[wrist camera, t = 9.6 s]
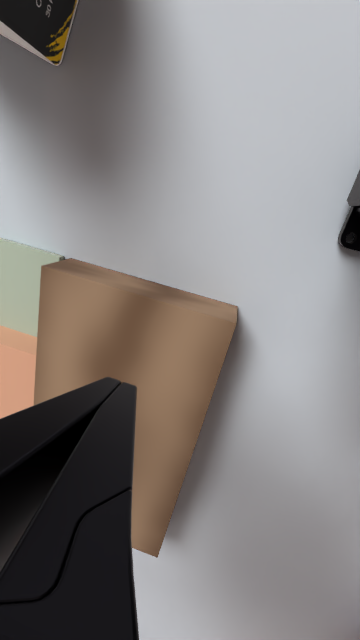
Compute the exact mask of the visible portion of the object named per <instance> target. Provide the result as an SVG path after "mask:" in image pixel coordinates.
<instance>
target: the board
mask: <svg viewBox="0 0 360 640" xmlns="http://www.w3.org/2000/svg"><path fill="white" fill-rule="evenodd" d="M236 324H237V306H234V305H231V304H227V303H224V302H220V301H217V300H213V299H210V298H206V297H203V296H200V295H196V294H193V293H189V292H186V291H182V290H179V289H175V288H172V287H168V286H165V285H162V284H158V283H155V282H151V281H148V280H144V279H141V278H137V277H134V276H130V275H127V274H124V273H120V272H117V271H113V270H110V269H106V268H103V267H99V266H96V265H93V264H89V263H86V262H82V261H79V260H75V259H72V258H70V259H66V260H62V261H58V262H54V263H50V264H46V265H42V266H41V278H40V296H39V314H38V332H37V351H36V369H35V387H34V405H36V404H39V403H41V402H44V401H46V400H49V399H51V398H54V397H57V396H59V395H62V394H64V393H67V392H69V391H72V390H74V389H77V388H80V387H82V386H85V385H87V384H90V383H92V382H95V381H97V380H100V379H102V378H105V377H111V378H114V379H117V380H120V381H121V382H126V383H129V384H132V385H135V386H136V387H137V401H136V423H135V445H134V466H133V488H132V522H131V541H132V548H134V549H137V550H139V551H142V552H144V553H147V554H150V555H152V556H155V557H158V554H159V551H160V548H161V545H162V542H163V539H164V536H165V534H166V531H167V528H168V525H169V522H170V519H171V516H172V513H173V510H174V507H175V504H176V501H177V498H178V495H179V492H180V489H181V486H182V483H183V480H184V477H185V474H186V471H187V469H188V466H189V463H190V460H191V457H192V454H193V451H194V448H195V445H196V442H197V439H198V436H199V433H200V430H201V427H202V424H203V421H204V418H205V415H206V412H207V409H208V407H209V404H210V401H211V398H212V395H213V392H214V389H215V386H216V383H217V380H218V377H219V374H220V371H221V368H222V365H223V362H224V359H225V356H226V353H227V350H228V347H229V344H230V342H231V339H232V336H233V333H234V330H235V327H236ZM34 405H33V406H34Z"/></svg>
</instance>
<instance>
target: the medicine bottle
mask: <svg viewBox="0 0 360 640" xmlns="http://www.w3.org/2000/svg"><path fill="white" fill-rule="evenodd" d="M78 1H79V0H0V34H1V35H3V36H4V37H6V38H8V39H10V40H11V41H13V42H15V43H16V44H18V45H20V46H22V47H23V48H25V49H27V50H28V51H30V52H32V53H33V54H35V55H37V56H39V57H40V58H42V59H44V60H45V61H47V62H49V63H51V64H52V65H56V66H58V65H60V64H61V62H62V59H63V56H64V52H65V48H66V45H67V41H68V37H69V34H70V30H71V26H72V23H73V19H74V15H75V12H76V8H77V4H78Z"/></svg>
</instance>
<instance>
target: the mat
mask: <svg viewBox="0 0 360 640" xmlns="http://www.w3.org/2000/svg"><path fill="white" fill-rule="evenodd" d="M62 260H64V256H61V255H58V254H55V253H51V252H48V251H44V250H41V249H37V248H34V247H30V246H27V245H23V244H20V243H17V242H13V241H10V240H6V239H3V238H0V325H1V326H4V327H7V328H10V329H13V330H16V331H19V332H22V333H26V334H29V335H32V336H35V337H37V332H38V314H39V296H40V278H41V266H42V265H46V264H50V263H54V262H58V261H62Z"/></svg>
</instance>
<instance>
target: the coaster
mask: <svg viewBox="0 0 360 640" xmlns="http://www.w3.org/2000/svg"><path fill="white" fill-rule="evenodd" d="M36 351H37V337H35V336H32V335H29V334H26V333H22V332H19V331H16V330H13V329H10V328H7V327H4V326H1V325H0V419H1V418H3V417H6V416H8V415H11V414H13V413H16V412H18V411H21V410H23V409H26V408H29V407H31V406H33V405H34V387H35V369H36Z"/></svg>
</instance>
